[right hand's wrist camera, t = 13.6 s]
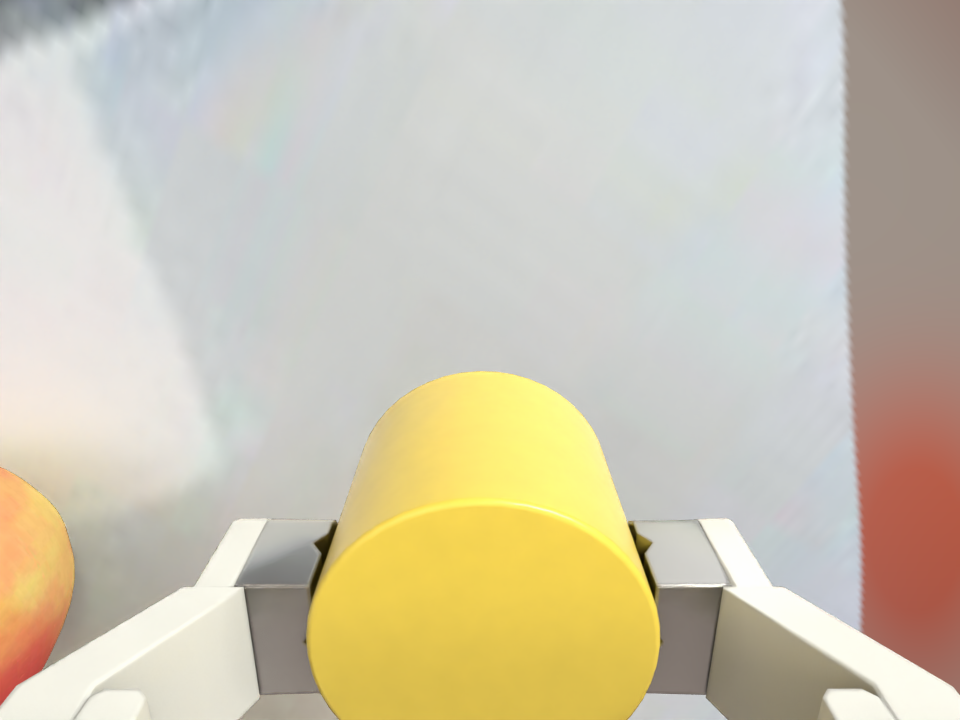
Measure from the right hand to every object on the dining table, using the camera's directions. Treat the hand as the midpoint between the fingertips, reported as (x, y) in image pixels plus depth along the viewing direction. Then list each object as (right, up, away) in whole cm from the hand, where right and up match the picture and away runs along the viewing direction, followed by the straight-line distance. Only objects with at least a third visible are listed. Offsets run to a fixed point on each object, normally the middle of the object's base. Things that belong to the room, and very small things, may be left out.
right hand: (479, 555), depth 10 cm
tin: (0, +1, +2) cm, 2 cm away
